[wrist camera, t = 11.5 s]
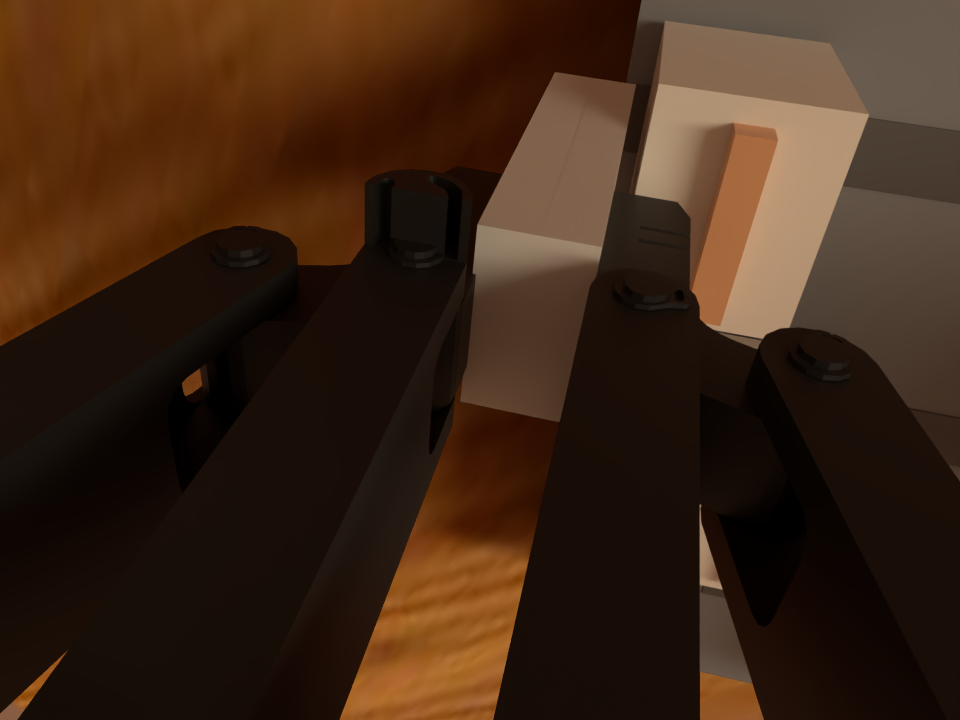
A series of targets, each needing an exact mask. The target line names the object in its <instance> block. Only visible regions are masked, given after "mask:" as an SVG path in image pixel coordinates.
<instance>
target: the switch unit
mask: <svg viewBox="0 0 960 720" xmlns="http://www.w3.org/2000/svg"><path fill="white" fill-rule="evenodd" d="M665 21H671V22H678V23H685V24H693V25H700V26H707V27H715V28H722V29H729V30H736V31H744V32H751V33H758V34H766V35H773V36H780V37H788V38H795V39H802V40H809V41H817V42H824V43H830V44H831V46H832V48H833V50H834V52H835V53H836V55H837V57H838V59H839V61H840V62H841V64H842V66H843V68H844V70H845V72H846V73H847V75H848V77H849V79H850V81H851V82H852V84H853V86H854V88H855V90H856V91H857V93H858V95H859V97H860V99H861V100H862V102H863V104H864V106H865V108H866V110H867V111H868V113H869V116H868V119H867V122H866V124H865V127H864V130H863V132H862V135H861V138H860V140H859V143H858V146H857V148H856V151H855V154H854V156H853V159H852V162H851V164H850V167H849V170H848V172H847V175H846V178H845V180H844V183H843V186H842V188H841V191H840V194H839V196H838V199H837V202H836V204H835V207H834V210H833V212H832V215H831V218H830V220H829V223H828V226H827V228H826V231H825V234H824V236H823V239H822V242H821V244H820V247H819V250H818V252H817V255H816V258H815V260H814V263H813V266H812V268H811V271H810V274H809V276H808V279H807V282H806V284H805V287H804V290H803V292H802V295H801V298H800V300H799V303H798V306H797V308H796V311H795V314H794V316H793V319H792V322H791V324H790V327H789V328H796V327H801V328H807V329H813V330H817V329H818V330H823V331H826V332H830V333H831V334H832V335H833V334H836V335H838V336H840V337H843V338H845V339H846V340H847V341H849V342H850V343H852V344H854V345H855V346H857V347H859V348H860V349H862V350H864V351H865V352H866V353H867V354H868V355H869V356H870V357H871V358H872V359H873V360H874V361H875V362H876V363H877V364H878V365H879V366H880V368H881V369H882V371H883V372H884V374H885V375H886V377H887V378H888V379H889V381H890V382H891V384H892V385H893V387H894V388H895V389H896V391H897V392H898V394H899V395H900V397H901V398H902V399H903V401H904V402H905V404H906V405H907V407H908V408H909V409H910V411H911V412H912V414H913V415H914V417H915V418H916V419H917V421H918V422H919V424H920V425H921V427H922V428H923V429H924V431H925V432H926V434H927V435H928V437H929V438H930V439H931V441H932V442H933V444H934V445H935V447H936V448H937V449H938V451H939V452H940V454H941V455H942V457H943V458H944V459H945V461H946V462H947V464H948V465H949V467H950V468H951V469H952V471H953V472H954V474H955V475H956V477H957V478H958V480H959V481H960V0H642V1H641V6H640V11H639V17H638V22H637V27H636V32H635V38H634V43H633V48H632V54H631V59H630V64H629V70H628V75H627V80H626V83H629V84H635V85H636V87H635V92H634V97H633V102H632V107H631V112H630V117H629V122H628V127H627V132H626V137H625V142H624V147H623V151H622V156H621V161H620V166H619V171H618V176H617V181H616V186H615V191H617V192H623V193H628V194H629V192H630V187H631V182H632V177H633V173H634V168H635V163H636V158H637V153H638V149H639V144H640V139H641V134H642V129H643V124H644V120H645V115H646V110H647V105H648V100H649V96H650V91H651V86H652V81H653V76H654V71H655V67H656V62H657V57H658V52H659V47H660V43H661V38H662V33H663V28H664V23H665ZM715 331H716V332H718V333H723V334H729V335H734V336H740V337H745V338H751V339H756V340H763V339H761V338H755V337H750V336H744V335H739V334H733V333H728V332H722V331H717V330H715ZM700 672H704V673H709V674H713V675H717V676H722V677H726V678H730V679H735V680H739V681H743V682H747V683H752V680H751V677H750V674H749V671H748V668H747V665H746V662H745V658H744V655H743V652H742V649H741V646H740V643H739V640H738V636H737V633H736V630H735V627H734V624H733V621H732V618H731V614H730V611H729V608H728V605H727V602H726V599H725V596H724V592H723V590H722V589H717V588H713V587H708V586H703V585H700Z"/></svg>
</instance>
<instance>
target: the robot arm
mask: <svg viewBox="0 0 960 720" xmlns="http://www.w3.org/2000/svg"><path fill="white" fill-rule="evenodd" d="M635 87H636V85H635V84H629V83H622V82H616V81H609V80H603V79H597V78H590V77H584V76H577V75H571V74H565V73H558V72H555V73H554V75H553V77H552V79H551V81H550V83H549V85H548V87H547V89H546V91H545V93H544V95H543V97H542V99H541V100H540V102H539V104H538V106H537V108H536V110H535V112H534V114H533V116H532V118H531V120H530V122H529V124H528V126H527V128H526V130H525V132H524V134H523V136H522V138H521V140H520V142H519V144H518V146H517V148H516V150H515V152H514V154H513V155H512V157H511V159H510V161H509V163H508V165H507V167H506V169H505V171H504V173H503V174H499V173H493V172H487V171H481V170H476V169H470V168H464V167H458V166H457V167H455V168H453V169H451V170H449V171H447V172H445V173H443V174H441V173H437V172H433V171H424V170H413V169H411V170H397V171H390V172H386V173H383V174H379V175H376V176H374V177H373V178H371V179H370V180H368V181H367V182H365V244H364V246H363V247H362V248H361V250H360V251H359V253H358V254H357V255H356V257H355V258H354V259H353V261H352V262H351V264H347V265H331V266H321V265H298V261H297V247H296V246H295V245H294V244H293V242H292V241H291V240H290V238H288V237H286V236H284V235H282V234H280V233H278V232H276V231H271V230H266V229H262V228H260V227H254V226H248V227H245V226H233V227H231V228H228V229H221V230H215V231H213V232H210V233H208V234H205V235H202V236H200V237H198V238H196V239H194V240H192V241H190V242H189V243H187V244H185V245H183V246H181V247H179V248H178V249H176V250H174V251H172V252H170V253H169V254H167V255H165V256H163V257H161V258H160V259H158V260H156V261H154V262H152V263H150V264H149V265H147V266H145V267H143V268H141V269H140V270H138V271H136V272H134V273H132V274H131V275H129V276H127V277H125V278H123V279H121V280H120V281H118V282H116V283H114V284H112V285H111V286H109V287H107V288H105V289H103V290H102V291H100V292H98V293H96V294H94V295H92V296H91V297H89V298H87V299H85V300H83V301H82V302H80V303H78V304H76V305H74V306H73V307H71V308H69V309H67V310H65V311H63V312H62V313H60V314H58V315H56V316H54V317H53V318H51V319H49V320H47V321H45V322H44V323H42V324H40V325H38V326H36V327H34V328H33V329H31V330H29V331H27V332H25V333H24V334H22V335H20V336H18V337H16V338H15V339H13V340H11V341H9V342H7V343H6V344H4V345H2V346H0V713H1V712H2V711H3V710H4V709H5V708H6V707H7V706H9V705H10V704H11V703H12V702H13V701H14V700H15V699H16V698H17V697H18V696H19V695H20V694H21V693H22V692H24V691H25V690H26V689H27V688H28V687H29V686H30V685H31V684H32V683H33V682H34V681H35V680H36V679H37V678H38V677H40V676H41V675H42V674H43V673H44V672H45V671H46V670H47V669H48V668H49V667H50V666H51V665H52V664H53V663H54V662H56V661H57V660H58V659H59V658H60V657H61V656H62V655H63V654H64V653H65V652H66V651H67V650H68V649H69V650H68V651H67V653H66V654H65V655H64V657H63V658H62V659H61V661H60V662H59V664H58V665H57V666H56V668H55V669H54V670H53V672H52V673H51V674H50V676H49V677H48V679H47V680H46V681H45V683H44V684H43V685H42V687H41V688H40V690H39V691H38V692H37V694H36V695H35V696H34V698H33V699H32V701H31V702H30V703H29V705H28V706H27V707H26V709H25V710H24V711H23V713H22V714H21V716H20V717H19V718H18V720H339V719H340V717H341V714H342V711H343V709H344V706H345V704H346V701H347V698H348V696H349V693H350V691H351V688H352V685H353V683H354V680H355V678H356V675H357V672H358V670H359V667H360V664H361V662H362V659H363V657H364V654H365V651H366V649H367V646H368V644H369V641H370V638H371V636H372V633H373V630H374V628H375V625H376V623H377V620H378V617H379V615H380V612H381V610H382V607H383V604H384V602H385V599H386V597H387V594H388V591H389V589H390V586H391V583H392V581H393V578H394V576H395V573H396V570H397V568H398V565H399V563H400V560H401V557H402V555H403V552H404V549H405V547H406V544H407V542H408V539H409V536H410V534H411V531H412V529H413V526H414V523H415V521H416V518H417V516H418V513H419V510H420V508H421V505H422V502H423V500H424V497H425V495H426V492H427V489H428V487H429V484H430V482H431V479H432V476H433V474H434V471H435V468H436V466H437V463H438V461H439V458H440V455H441V453H442V450H443V448H444V445H445V442H446V440H447V437H448V435H449V432H450V429H451V427H452V422H453V411H454V400H455V394H456V392H457V389H458V387H459V384H460V382H461V379H462V377H463V379H462V389H461V400H460V402H465V403H470V404H475V405H479V406H484V407H489V408H494V409H498V410H503V411H508V412H513V413H517V414H522V415H527V416H532V417H536V418H541V419H546V420H551V421H555V422H560V423H559V427H558V432H557V436H556V441H555V445H554V450H553V454H552V459H551V463H550V468H549V472H548V477H547V481H546V486H545V490H544V495H543V499H542V504H541V508H540V513H539V517H538V522H537V526H536V531H535V535H534V540H533V544H532V548H531V553H530V557H529V562H528V566H527V571H526V575H525V580H524V584H523V589H522V593H521V598H520V602H519V607H518V611H517V616H516V620H515V625H514V629H513V634H512V638H511V643H510V647H509V652H508V656H507V661H506V665H505V670H504V674H503V679H502V683H501V688H500V692H499V697H498V701H497V706H496V710H495V715H494V719H493V720H700V510H701V523H702V527H703V530H704V533H705V536H706V539H707V542H708V545H709V549H710V552H711V555H712V558H713V561H714V564H715V567H716V570H717V574H718V577H719V580H720V583H721V586H722V589H723V592H724V596H725V599H726V602H727V605H728V608H729V611H730V614H731V618H732V621H733V624H734V627H735V630H736V633H737V636H738V640H739V643H740V646H741V649H742V652H743V655H744V658H745V662H746V665H747V668H748V671H749V674H750V677H751V680H752V684H753V687H754V690H755V693H756V696H757V699H758V702H759V705H760V709H761V712H762V715H763V718H764V720H960V481H959V480H958V478H957V477H956V475H955V474H954V472H953V471H952V469H951V468H950V467H949V465H948V464H947V462H946V461H945V459H944V458H943V457H942V455H941V454H940V452H939V451H938V449H937V448H936V447H935V445H934V444H933V442H932V441H931V439H930V438H929V437H928V435H927V434H926V432H925V431H924V429H923V428H922V427H921V425H920V424H919V422H918V421H917V419H916V418H915V417H914V415H913V414H912V412H911V411H910V409H909V408H908V407H907V405H906V404H905V402H904V401H903V399H902V398H901V397H900V395H899V394H898V392H897V391H896V389H895V388H894V387H893V385H892V384H891V382H890V381H889V379H888V378H887V377H886V375H885V374H884V372H883V371H882V369H881V368H880V366H879V365H878V364H877V363H876V362H875V361H874V360H873V359H872V358H871V357H870V356H869V355H868V354H867V353H866V352H865V351H864V350H862V349H860V348H859V347H857V346H855V345H854V344H852V343H850V342H849V341H847V340H846V339H845V338H843V337H840V336H838V335H836V334H833V335H832V334H831V333H830V332H826V331H823V330H818V329H817V330H813V329H807V328H801V327H796V328H780V329H777V330H775V331H773V332H770V333H768V334H766V335H765V337H764V338H763V340H762V341H761V343H760V344H759V347H758V349H755V348H753V347H750V346H748V345H745V344H742V343H740V342H737V341H735V340H732V339H730V338H728V337H726V336H724V335H722V334H720V333H718V332H716V331H715V330H713V329H712V328H710V327H709V326H707V325H706V324H705V323H704V322H703V321H702V320H701V319H700V306H699V303H698V300H697V298H696V295H695V294H694V293H693V292H692V291H691V290H690V235H691V218H690V217H689V216H688V214H687V213H686V212H685V211H684V209H683V208H682V207H681V206H680V204H679V203H678V202H675V201H669V200H663V199H657V198H652V197H646V196H640V195H634V194H628V193H623V192H617V191H615V186H616V181H617V176H618V171H619V166H620V161H621V156H622V151H623V147H624V142H625V137H626V132H627V127H628V122H629V117H630V112H631V107H632V102H633V97H634V92H635ZM199 368H200V373H201V379H202V386H201V387H200V388H199V389H197V390H196V391H195V392H193V393H192V394H190V395H187V396H185V395H184V393H183V389H182V382H183V381H184V380H185V379H186V378H187V377H188V376H190V375H191V374H192V373H194V372H195V371H197V370H198V369H199ZM700 505H701V508H700Z"/></svg>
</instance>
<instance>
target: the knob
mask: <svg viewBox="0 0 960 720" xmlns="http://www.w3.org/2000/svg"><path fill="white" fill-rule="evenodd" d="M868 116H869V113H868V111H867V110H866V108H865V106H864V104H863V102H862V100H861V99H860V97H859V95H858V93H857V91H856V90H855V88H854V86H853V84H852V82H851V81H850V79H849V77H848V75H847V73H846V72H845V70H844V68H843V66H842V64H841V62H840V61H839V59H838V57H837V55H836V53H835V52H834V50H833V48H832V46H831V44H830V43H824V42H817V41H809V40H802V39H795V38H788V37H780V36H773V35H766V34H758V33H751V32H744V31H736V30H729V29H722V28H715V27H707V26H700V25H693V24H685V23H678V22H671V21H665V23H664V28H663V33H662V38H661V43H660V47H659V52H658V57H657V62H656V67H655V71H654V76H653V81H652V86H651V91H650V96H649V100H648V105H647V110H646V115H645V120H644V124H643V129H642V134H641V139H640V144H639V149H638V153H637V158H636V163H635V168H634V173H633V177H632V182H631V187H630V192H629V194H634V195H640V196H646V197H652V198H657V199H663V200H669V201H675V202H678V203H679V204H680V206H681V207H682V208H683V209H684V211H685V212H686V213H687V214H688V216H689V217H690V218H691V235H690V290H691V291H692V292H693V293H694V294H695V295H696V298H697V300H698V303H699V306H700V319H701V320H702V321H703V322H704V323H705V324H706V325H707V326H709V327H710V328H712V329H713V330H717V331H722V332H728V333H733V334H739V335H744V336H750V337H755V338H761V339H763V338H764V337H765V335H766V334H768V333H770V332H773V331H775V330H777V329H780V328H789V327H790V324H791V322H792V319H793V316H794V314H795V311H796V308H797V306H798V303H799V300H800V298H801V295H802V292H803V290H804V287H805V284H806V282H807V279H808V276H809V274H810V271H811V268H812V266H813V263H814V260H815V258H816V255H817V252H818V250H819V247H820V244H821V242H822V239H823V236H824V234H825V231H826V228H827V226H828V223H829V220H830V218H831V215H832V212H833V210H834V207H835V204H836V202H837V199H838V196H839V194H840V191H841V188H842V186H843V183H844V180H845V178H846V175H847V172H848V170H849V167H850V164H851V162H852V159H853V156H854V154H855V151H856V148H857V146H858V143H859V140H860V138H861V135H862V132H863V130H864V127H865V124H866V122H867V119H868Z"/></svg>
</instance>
